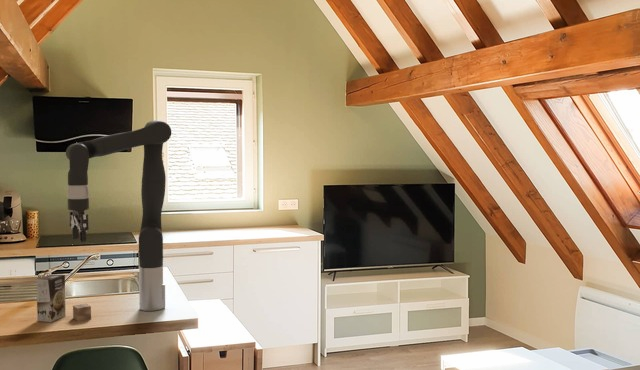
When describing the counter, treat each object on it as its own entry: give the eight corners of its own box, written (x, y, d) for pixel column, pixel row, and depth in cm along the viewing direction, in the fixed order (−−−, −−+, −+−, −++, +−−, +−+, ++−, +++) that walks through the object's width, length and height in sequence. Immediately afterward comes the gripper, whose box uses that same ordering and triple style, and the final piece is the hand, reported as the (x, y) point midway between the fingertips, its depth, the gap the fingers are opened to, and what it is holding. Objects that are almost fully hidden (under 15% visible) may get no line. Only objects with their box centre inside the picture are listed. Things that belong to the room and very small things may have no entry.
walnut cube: (86, 316, 250) (86, 303, 249) (91, 319, 246) (90, 306, 245) (73, 318, 247) (72, 305, 246) (77, 321, 243) (77, 308, 242)
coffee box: (52, 322, 241) (51, 279, 240) (36, 321, 242) (35, 278, 241) (66, 315, 250) (65, 274, 249) (51, 314, 251) (50, 273, 250)
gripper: (94, 198, 239) (95, 241, 241) (82, 195, 251) (83, 237, 252) (74, 199, 235) (75, 243, 236) (62, 196, 246) (63, 238, 247)
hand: (79, 240), depth 244 cm, fingers open, 8 cm apart
